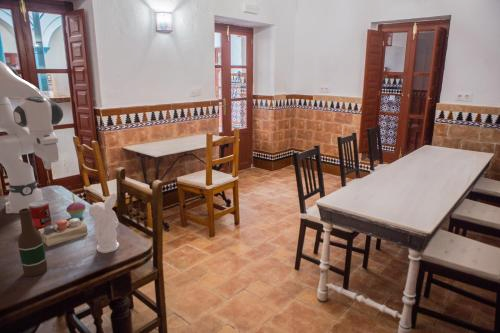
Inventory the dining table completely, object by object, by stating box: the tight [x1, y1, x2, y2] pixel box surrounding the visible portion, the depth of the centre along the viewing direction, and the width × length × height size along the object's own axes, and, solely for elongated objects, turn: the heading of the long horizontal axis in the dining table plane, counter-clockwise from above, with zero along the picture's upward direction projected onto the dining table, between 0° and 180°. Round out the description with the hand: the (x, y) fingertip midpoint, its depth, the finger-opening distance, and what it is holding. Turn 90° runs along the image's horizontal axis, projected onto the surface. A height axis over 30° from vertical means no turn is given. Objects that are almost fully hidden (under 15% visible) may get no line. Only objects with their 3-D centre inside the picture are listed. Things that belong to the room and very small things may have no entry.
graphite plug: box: [44, 224, 55, 235], centre depth 153 cm, size 4×4×6 cm
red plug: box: [55, 219, 68, 231], centre depth 156 cm, size 4×4×6 cm
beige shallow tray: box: [37, 220, 89, 248], centre depth 156 cm, size 11×16×4 cm
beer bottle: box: [17, 208, 48, 278], centre depth 127 cm, size 8×8×24 cm
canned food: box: [29, 199, 53, 229], centre depth 166 cm, size 8×8×11 cm
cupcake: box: [66, 192, 87, 219], centre depth 175 cm, size 9×8×12 cm
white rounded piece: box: [68, 218, 81, 227], centre depth 159 cm, size 4×4×6 cm
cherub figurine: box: [88, 193, 120, 254], centre depth 145 cm, size 12×12×22 cm
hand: (48, 168), depth 154 cm, fingers closed
